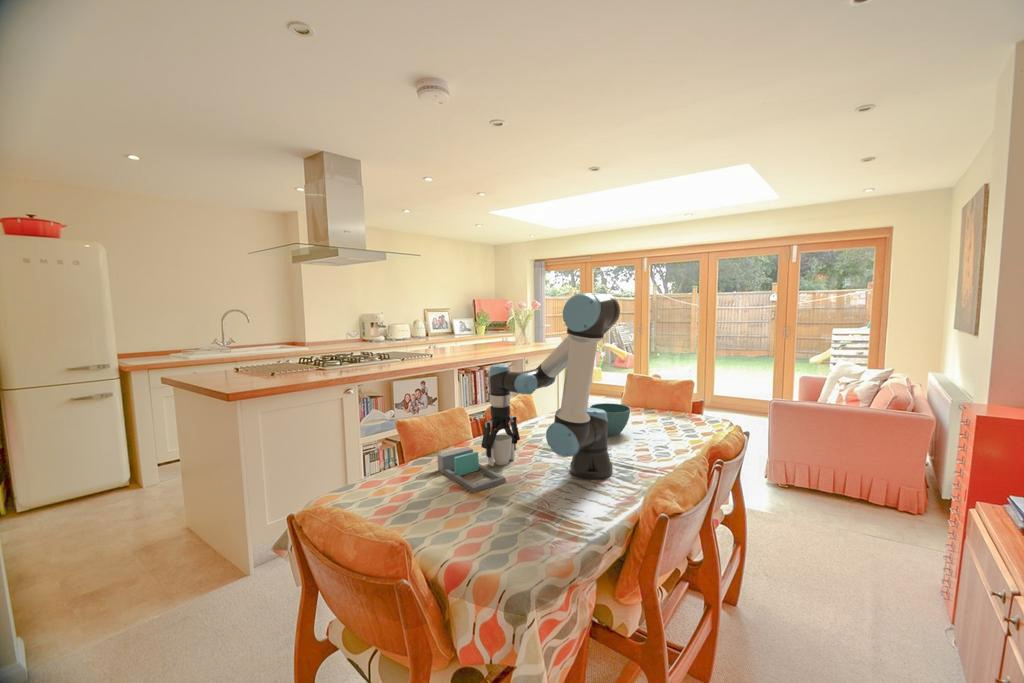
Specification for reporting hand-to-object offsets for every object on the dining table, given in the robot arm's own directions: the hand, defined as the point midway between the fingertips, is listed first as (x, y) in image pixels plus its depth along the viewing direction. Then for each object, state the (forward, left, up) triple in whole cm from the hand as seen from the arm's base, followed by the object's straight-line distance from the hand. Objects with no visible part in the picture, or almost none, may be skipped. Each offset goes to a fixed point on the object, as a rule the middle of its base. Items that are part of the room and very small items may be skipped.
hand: (501, 462), depth 169 cm
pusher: (+1, +16, 0) cm, 16 cm away
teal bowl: (-2, -60, 0) cm, 60 cm away
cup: (0, 0, 0) cm, 0 cm away
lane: (-3, +16, 0) cm, 16 cm away
